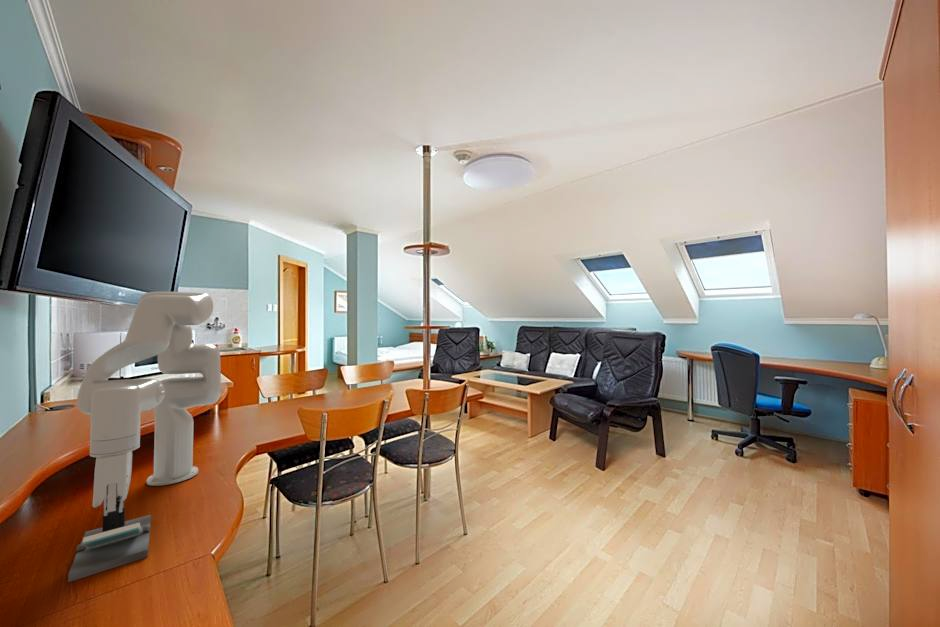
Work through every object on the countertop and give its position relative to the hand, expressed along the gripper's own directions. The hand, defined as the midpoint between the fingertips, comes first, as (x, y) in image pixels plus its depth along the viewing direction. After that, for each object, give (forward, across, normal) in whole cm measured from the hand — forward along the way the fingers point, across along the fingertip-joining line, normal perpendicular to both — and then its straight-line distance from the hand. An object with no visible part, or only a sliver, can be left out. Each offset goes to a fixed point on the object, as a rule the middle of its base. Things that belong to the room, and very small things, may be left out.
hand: (113, 530), depth 74 cm
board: (+5, -3, 0) cm, 6 cm away
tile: (0, 0, 0) cm, 0 cm away
